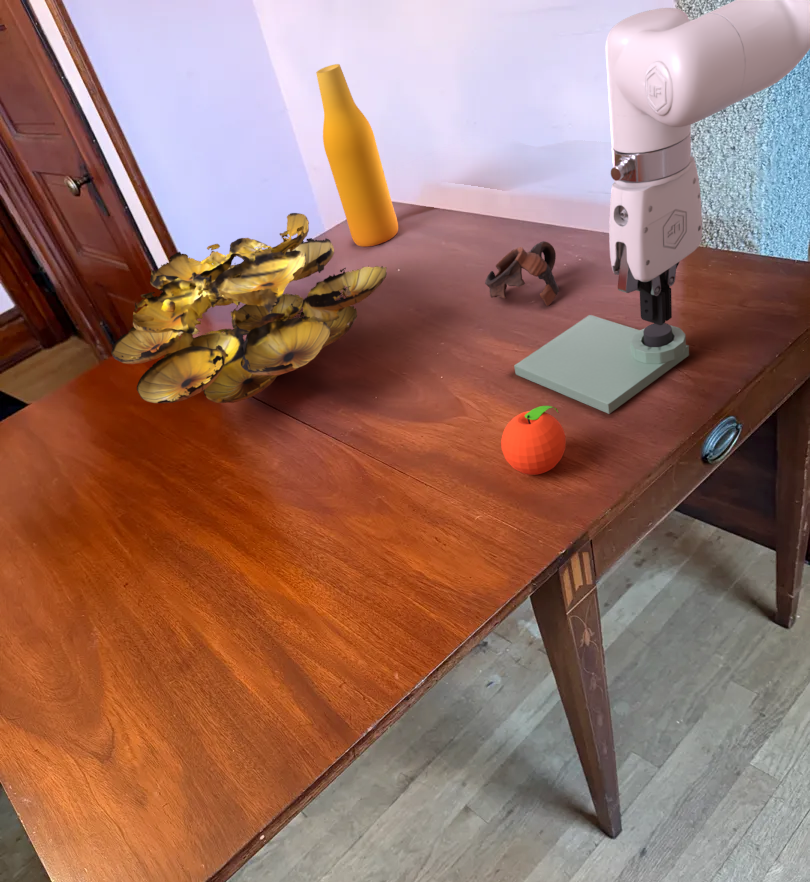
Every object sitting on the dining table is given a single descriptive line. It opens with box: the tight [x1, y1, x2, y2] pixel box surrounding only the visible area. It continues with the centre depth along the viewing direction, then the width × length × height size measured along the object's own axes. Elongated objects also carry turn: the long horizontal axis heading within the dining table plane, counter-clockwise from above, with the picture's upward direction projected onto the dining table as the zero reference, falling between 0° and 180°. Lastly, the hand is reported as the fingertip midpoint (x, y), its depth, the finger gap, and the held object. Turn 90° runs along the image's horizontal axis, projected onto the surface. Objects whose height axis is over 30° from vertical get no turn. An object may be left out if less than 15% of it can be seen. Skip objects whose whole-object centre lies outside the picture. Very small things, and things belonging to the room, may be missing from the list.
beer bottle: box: [315, 63, 399, 248], centre depth 135 cm, size 9×9×29 cm
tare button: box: [643, 322, 672, 347], centre depth 89 cm, size 3×3×2 cm
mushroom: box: [110, 212, 388, 404], centre depth 111 cm, size 41×45×17 cm
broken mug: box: [484, 240, 560, 307], centre depth 111 cm, size 12×10×8 cm
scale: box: [513, 314, 690, 415], centre depth 93 cm, size 16×15×3 cm
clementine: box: [500, 405, 567, 476], centre depth 81 cm, size 8×7×7 cm
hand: (656, 319), depth 88 cm, fingers closed
